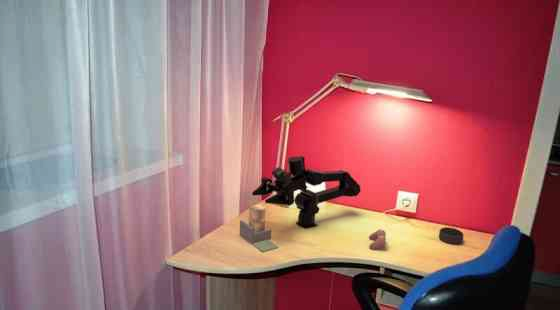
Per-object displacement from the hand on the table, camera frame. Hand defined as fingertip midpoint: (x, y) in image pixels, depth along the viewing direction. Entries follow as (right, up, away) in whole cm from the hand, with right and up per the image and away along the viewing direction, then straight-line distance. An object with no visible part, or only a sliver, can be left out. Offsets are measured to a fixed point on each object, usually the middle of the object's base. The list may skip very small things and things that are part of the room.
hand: (258, 197), depth 149 cm
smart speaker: (+76, -18, +10) cm, 79 cm away
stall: (-1, -15, +4) cm, 16 cm away
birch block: (-1, -13, +4) cm, 14 cm away
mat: (+3, -17, -4) cm, 18 cm away
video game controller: (+45, -19, +2) cm, 49 cm away
